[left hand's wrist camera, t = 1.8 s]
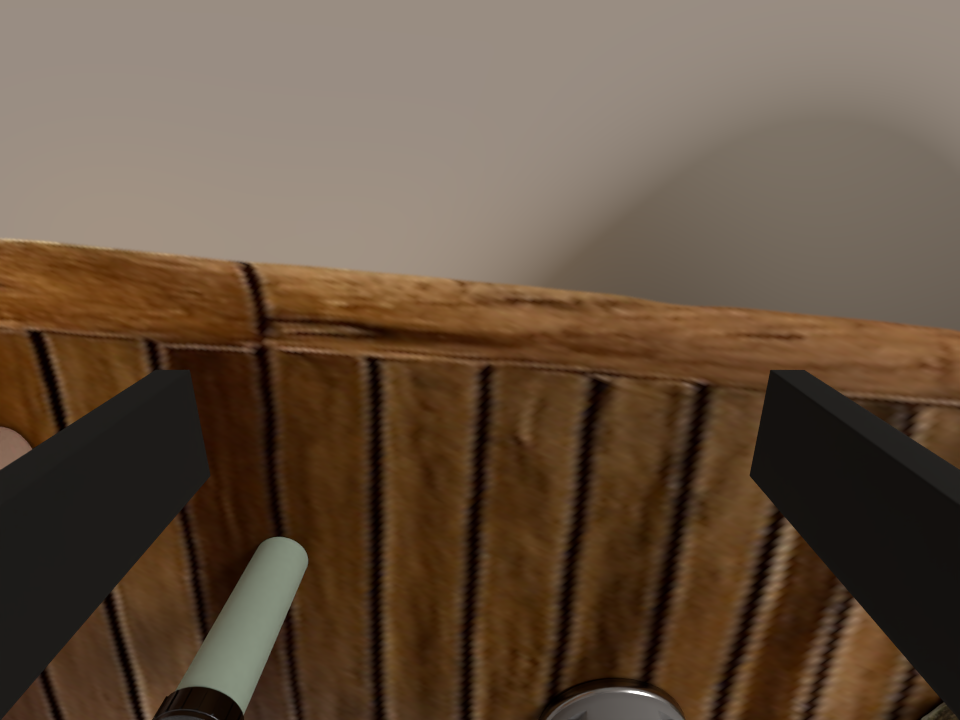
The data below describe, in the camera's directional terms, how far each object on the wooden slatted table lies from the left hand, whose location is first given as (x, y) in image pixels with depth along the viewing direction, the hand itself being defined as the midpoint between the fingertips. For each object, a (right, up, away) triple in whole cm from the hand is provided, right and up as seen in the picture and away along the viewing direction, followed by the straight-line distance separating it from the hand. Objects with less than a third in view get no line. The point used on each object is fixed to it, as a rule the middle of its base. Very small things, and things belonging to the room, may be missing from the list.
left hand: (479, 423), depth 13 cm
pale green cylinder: (-18, -16, +36) cm, 43 cm away
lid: (-18, -22, +21) cm, 35 cm away
